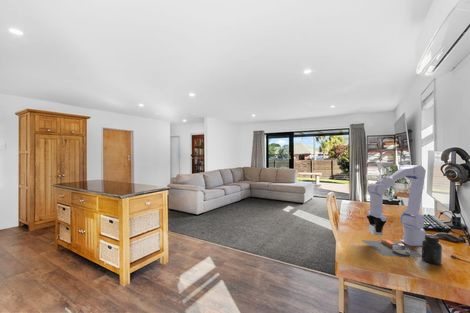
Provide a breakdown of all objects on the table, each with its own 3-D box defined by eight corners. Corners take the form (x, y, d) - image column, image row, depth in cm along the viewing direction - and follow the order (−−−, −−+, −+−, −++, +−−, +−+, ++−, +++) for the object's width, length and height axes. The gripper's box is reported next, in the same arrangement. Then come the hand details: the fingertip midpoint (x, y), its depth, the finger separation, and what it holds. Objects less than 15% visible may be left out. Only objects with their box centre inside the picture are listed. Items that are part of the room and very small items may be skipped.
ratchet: (390, 242, 122) (390, 235, 122) (413, 256, 105) (413, 247, 105) (377, 242, 122) (377, 234, 122) (398, 255, 105) (398, 247, 105)
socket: (377, 232, 121) (377, 223, 121) (382, 235, 117) (382, 225, 117) (368, 232, 122) (368, 222, 122) (373, 234, 117) (373, 225, 117)
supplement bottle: (417, 259, 103) (417, 233, 103) (431, 258, 103) (431, 233, 104) (432, 266, 96) (432, 238, 96) (446, 265, 97) (446, 238, 97)
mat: (397, 242, 124) (397, 241, 124) (426, 258, 104) (426, 257, 104) (361, 240, 125) (361, 240, 125) (383, 256, 105) (383, 255, 105)
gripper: (361, 202, 127) (361, 226, 127) (376, 208, 112) (376, 235, 112) (374, 203, 126) (373, 226, 126) (390, 208, 112) (390, 235, 112)
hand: (375, 230), depth 119 cm, fingers closed on socket, 5 cm apart
